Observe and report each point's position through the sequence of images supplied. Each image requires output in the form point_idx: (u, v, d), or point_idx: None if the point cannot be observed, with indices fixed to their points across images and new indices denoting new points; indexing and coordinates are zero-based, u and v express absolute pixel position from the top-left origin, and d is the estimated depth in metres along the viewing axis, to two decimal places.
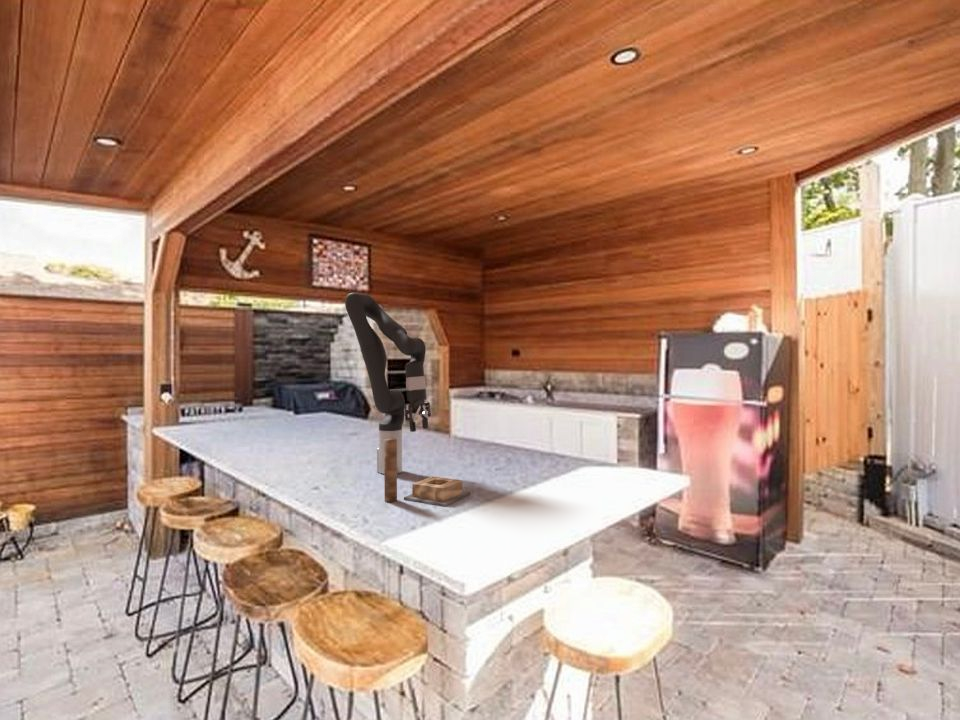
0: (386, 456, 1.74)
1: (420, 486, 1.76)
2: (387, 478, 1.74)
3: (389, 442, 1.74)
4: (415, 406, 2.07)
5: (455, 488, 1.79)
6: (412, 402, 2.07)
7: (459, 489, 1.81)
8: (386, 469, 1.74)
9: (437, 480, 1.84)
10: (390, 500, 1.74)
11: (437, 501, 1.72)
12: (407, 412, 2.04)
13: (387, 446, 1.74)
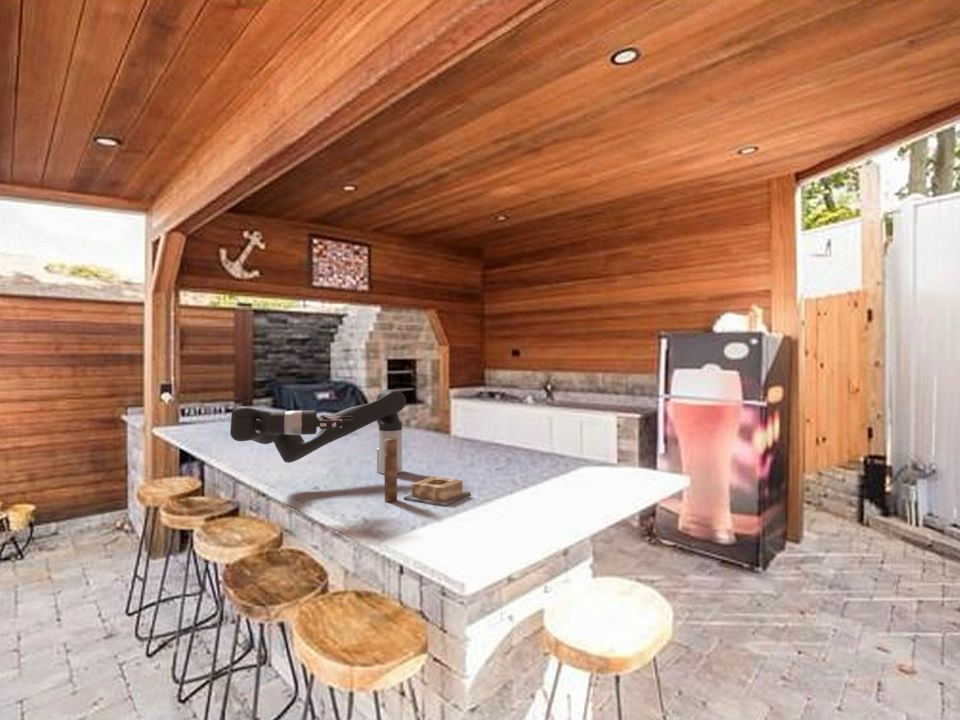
0: (386, 456, 1.74)
1: (420, 486, 1.76)
2: (387, 478, 1.74)
3: (389, 442, 1.74)
4: (323, 419, 1.67)
5: (455, 488, 1.79)
6: (317, 422, 1.66)
7: (459, 489, 1.81)
8: (386, 469, 1.74)
9: (437, 480, 1.84)
10: (390, 500, 1.74)
11: (437, 501, 1.72)
12: (329, 424, 1.64)
13: (387, 446, 1.74)
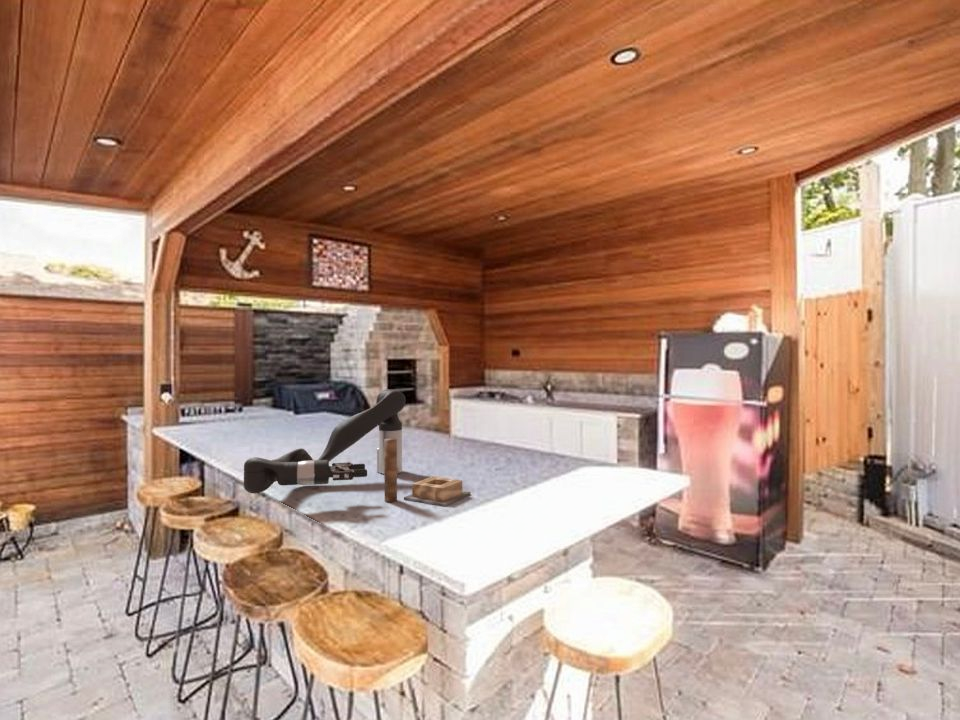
0: (386, 456, 1.74)
1: (420, 486, 1.76)
2: (387, 478, 1.74)
3: (389, 442, 1.74)
4: (335, 470, 1.67)
5: (455, 488, 1.79)
6: (330, 473, 1.66)
7: (459, 489, 1.81)
8: (386, 469, 1.74)
9: (437, 480, 1.84)
10: (390, 500, 1.74)
11: (437, 501, 1.72)
12: (342, 476, 1.64)
13: (387, 446, 1.74)
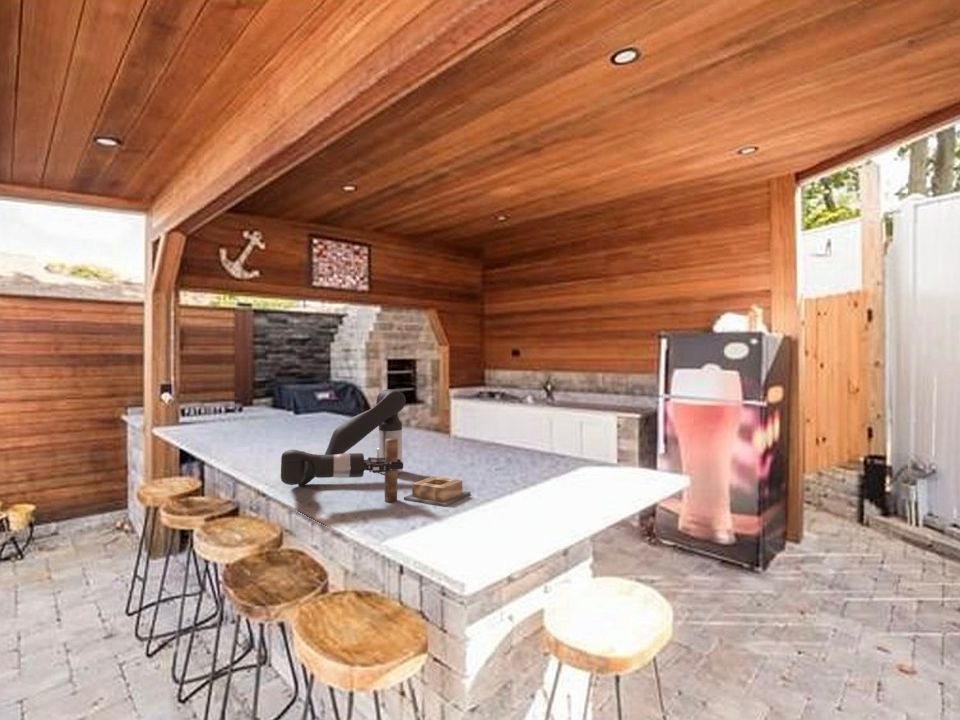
0: (387, 456, 1.74)
1: (420, 486, 1.76)
2: (387, 478, 1.74)
3: (390, 442, 1.73)
4: (370, 463, 1.70)
5: (455, 488, 1.79)
6: (365, 466, 1.69)
7: (459, 489, 1.81)
8: None
9: (437, 480, 1.84)
10: (390, 500, 1.74)
11: (437, 501, 1.72)
12: (382, 468, 1.69)
13: (388, 446, 1.73)
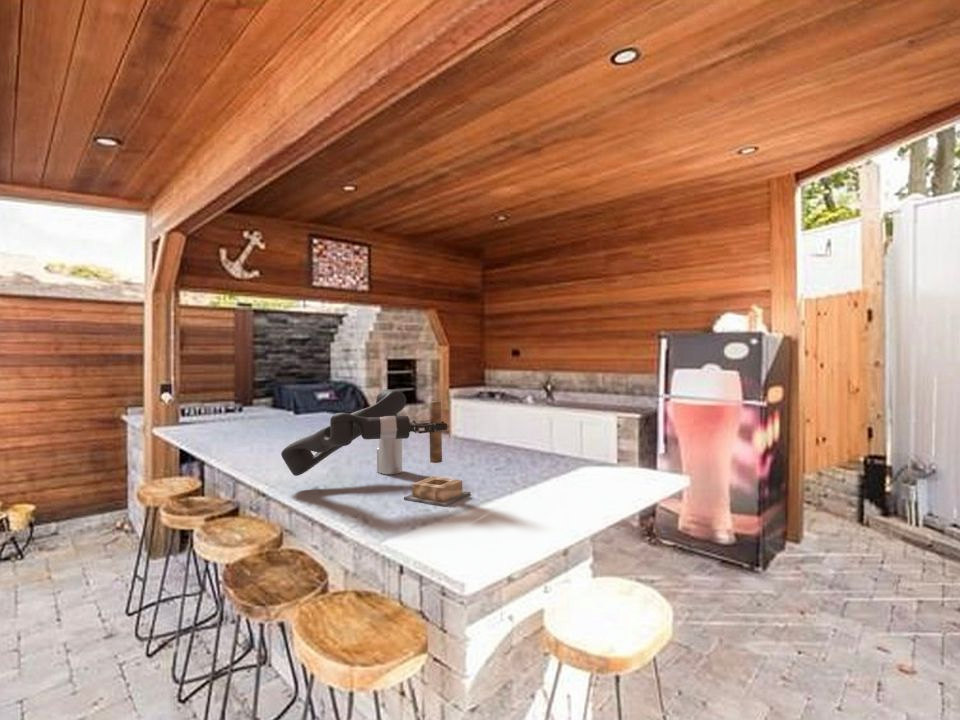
0: (431, 418, 1.78)
1: (420, 486, 1.76)
2: (432, 439, 1.78)
3: (434, 404, 1.77)
4: (416, 424, 1.75)
5: (455, 488, 1.79)
6: (411, 427, 1.74)
7: (459, 489, 1.81)
8: None
9: (437, 480, 1.84)
10: (436, 461, 1.78)
11: (437, 501, 1.72)
12: (427, 428, 1.73)
13: (432, 408, 1.77)
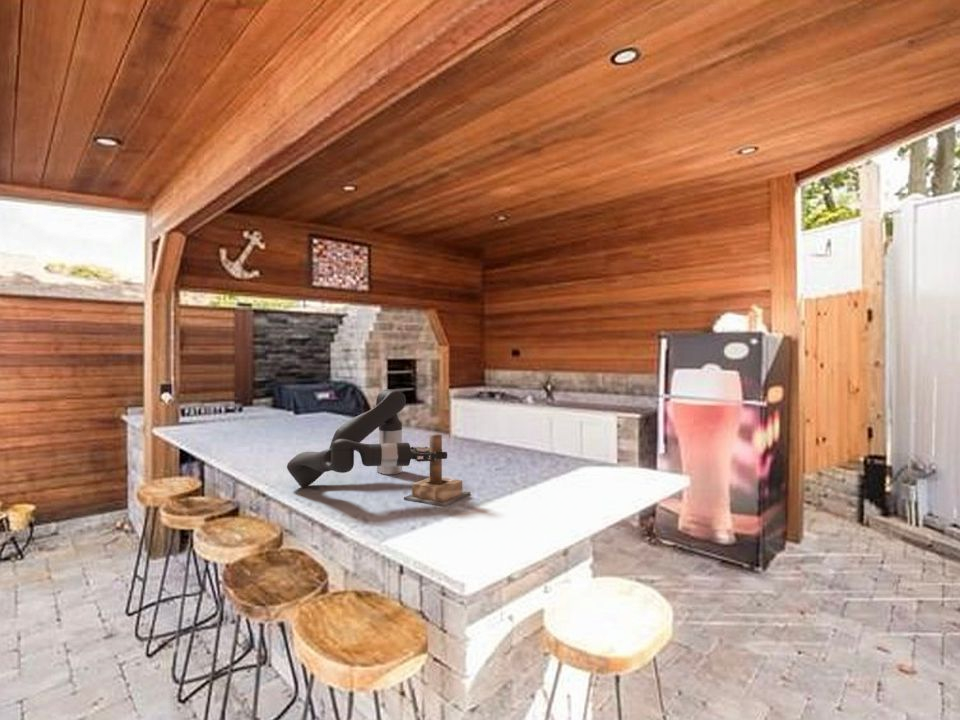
0: (432, 451, 1.78)
1: (420, 486, 1.76)
2: (432, 473, 1.78)
3: (435, 437, 1.77)
4: (417, 452, 1.75)
5: (455, 488, 1.79)
6: (412, 454, 1.74)
7: (459, 489, 1.81)
8: (432, 464, 1.78)
9: None
10: None
11: (437, 501, 1.72)
12: (426, 457, 1.72)
13: (433, 441, 1.78)
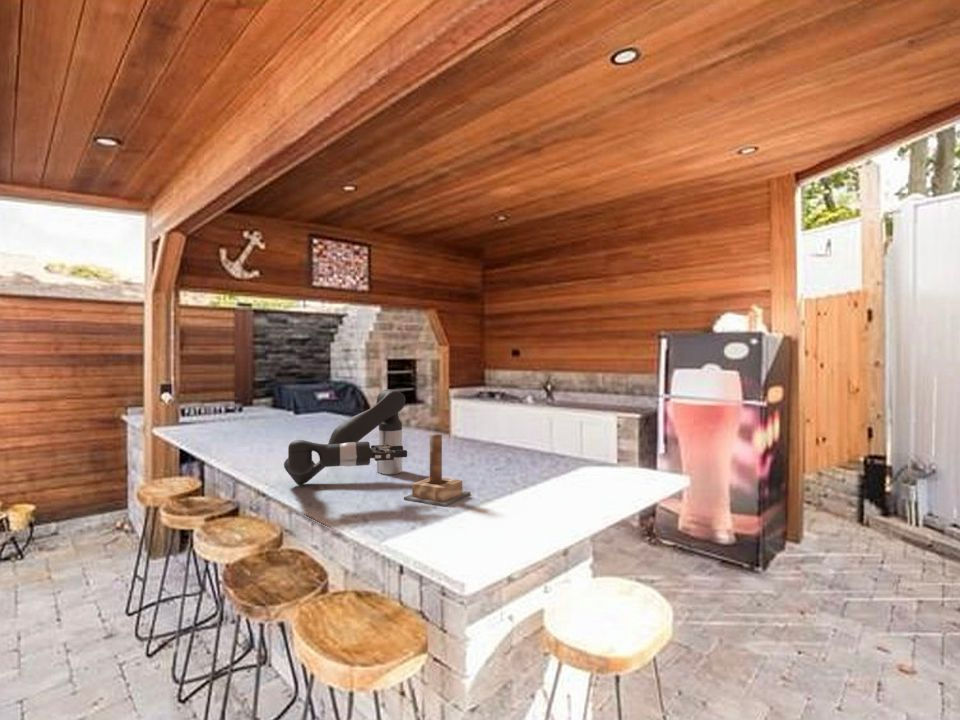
0: (432, 451, 1.78)
1: (420, 486, 1.76)
2: (432, 473, 1.78)
3: (435, 437, 1.78)
4: (376, 451, 1.72)
5: (455, 488, 1.79)
6: (371, 454, 1.70)
7: (459, 489, 1.81)
8: (432, 464, 1.78)
9: None
10: None
11: (437, 501, 1.72)
12: (384, 456, 1.68)
13: (433, 441, 1.78)
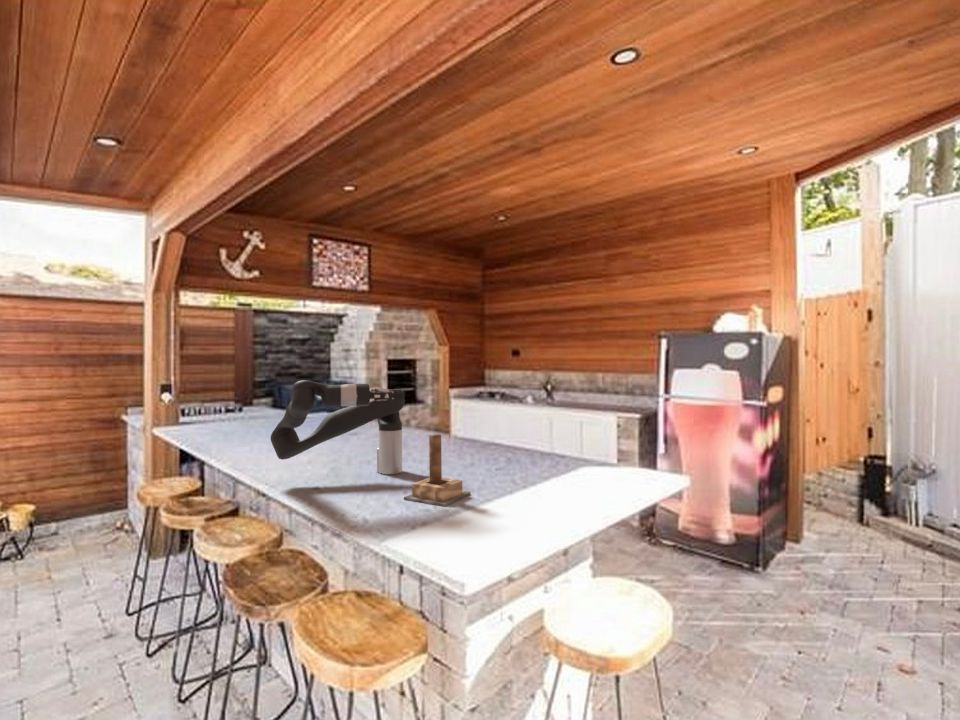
0: (431, 451, 1.78)
1: (420, 486, 1.76)
2: (432, 473, 1.78)
3: (434, 438, 1.77)
4: (376, 391, 1.80)
5: (455, 488, 1.79)
6: (371, 394, 1.79)
7: (459, 489, 1.81)
8: (431, 464, 1.78)
9: None
10: None
11: (437, 501, 1.72)
12: (383, 396, 1.77)
13: (432, 441, 1.77)
